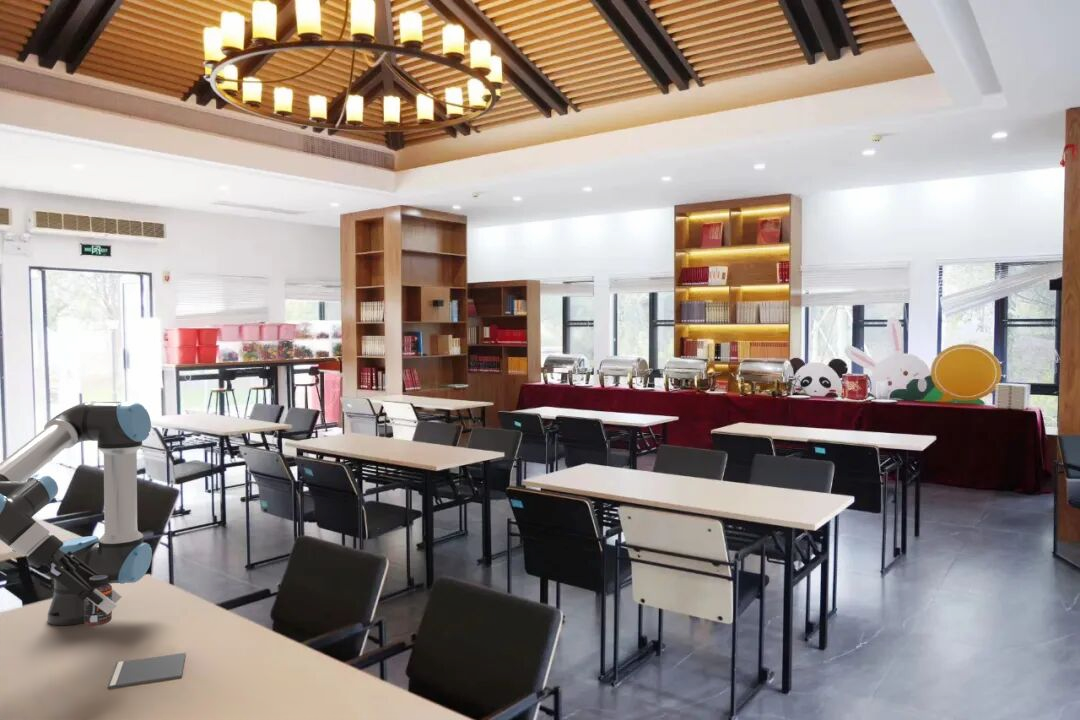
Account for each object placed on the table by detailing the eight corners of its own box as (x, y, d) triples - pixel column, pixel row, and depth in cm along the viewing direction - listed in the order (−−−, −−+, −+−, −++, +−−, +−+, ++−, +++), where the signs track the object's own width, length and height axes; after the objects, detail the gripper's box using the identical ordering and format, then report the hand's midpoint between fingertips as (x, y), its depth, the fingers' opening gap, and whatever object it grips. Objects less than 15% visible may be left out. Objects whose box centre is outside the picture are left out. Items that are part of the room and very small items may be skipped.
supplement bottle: (98, 628, 182) (98, 582, 182) (78, 625, 183) (78, 579, 183) (117, 619, 188) (117, 574, 187) (97, 616, 189) (97, 572, 189)
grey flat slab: (116, 664, 192) (116, 662, 192) (185, 654, 198) (185, 652, 198) (107, 688, 179) (107, 685, 179) (181, 677, 185) (181, 674, 185)
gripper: (36, 547, 189) (110, 604, 195) (12, 569, 171) (94, 631, 177) (60, 524, 190) (133, 581, 196) (39, 544, 173) (120, 606, 179)
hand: (114, 605), depth 187 cm, fingers closed on supplement bottle, 6 cm apart
